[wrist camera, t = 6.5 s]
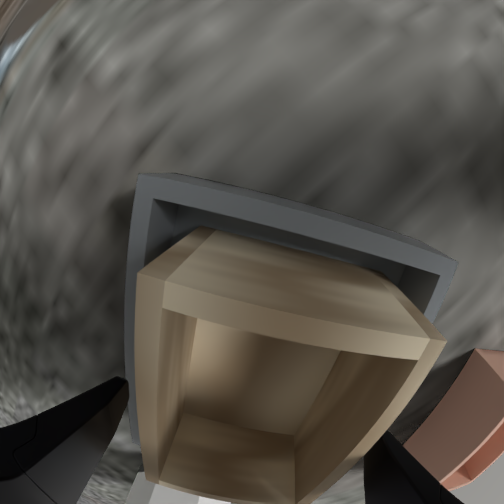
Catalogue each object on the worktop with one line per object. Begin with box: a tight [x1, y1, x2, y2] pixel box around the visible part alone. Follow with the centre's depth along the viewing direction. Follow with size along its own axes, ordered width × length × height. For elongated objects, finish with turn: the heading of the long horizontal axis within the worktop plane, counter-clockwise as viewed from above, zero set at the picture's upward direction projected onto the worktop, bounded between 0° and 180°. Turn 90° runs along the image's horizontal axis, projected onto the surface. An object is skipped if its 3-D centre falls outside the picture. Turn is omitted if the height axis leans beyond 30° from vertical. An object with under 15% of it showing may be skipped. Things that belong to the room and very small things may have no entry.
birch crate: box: [135, 226, 447, 504], centre depth 9 cm, size 7×10×5 cm
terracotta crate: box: [403, 349, 504, 491], centre depth 10 cm, size 7×10×5 cm
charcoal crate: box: [124, 173, 459, 446], centre depth 10 cm, size 10×13×3 cm
